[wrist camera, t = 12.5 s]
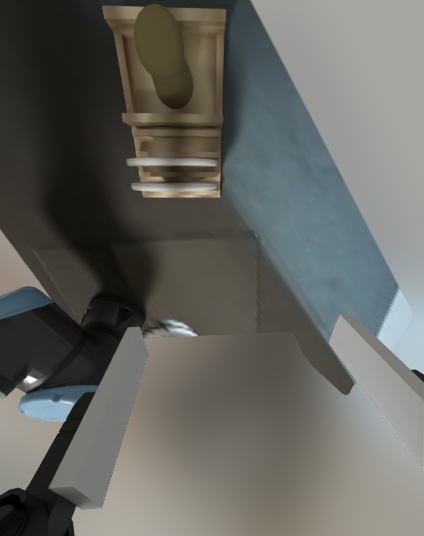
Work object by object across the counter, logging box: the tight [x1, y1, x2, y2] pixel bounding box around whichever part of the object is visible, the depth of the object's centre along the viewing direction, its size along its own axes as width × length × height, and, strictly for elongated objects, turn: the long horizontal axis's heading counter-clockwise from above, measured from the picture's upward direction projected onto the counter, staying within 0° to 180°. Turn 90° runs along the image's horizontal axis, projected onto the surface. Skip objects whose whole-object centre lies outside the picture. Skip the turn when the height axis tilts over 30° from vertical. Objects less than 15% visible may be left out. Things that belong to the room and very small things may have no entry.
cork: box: [134, 4, 193, 109], centre depth 22 cm, size 6×6×11 cm
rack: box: [102, 6, 226, 197], centre depth 25 cm, size 15×22×14 cm
